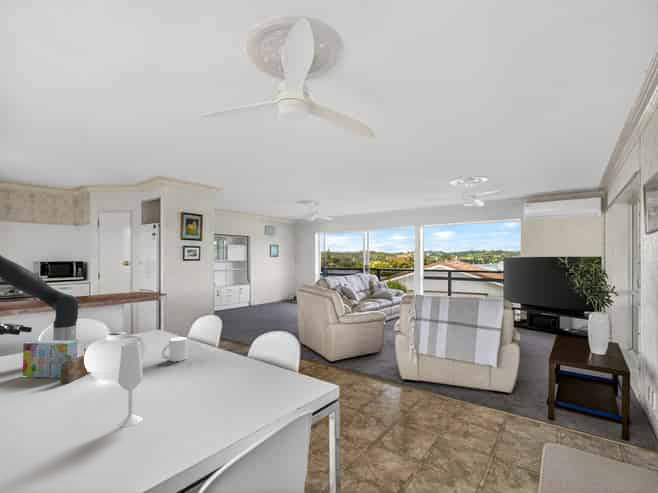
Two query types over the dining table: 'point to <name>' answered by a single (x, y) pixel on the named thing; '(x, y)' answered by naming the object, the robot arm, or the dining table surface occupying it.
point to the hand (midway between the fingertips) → (25, 331)
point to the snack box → (46, 357)
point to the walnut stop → (73, 369)
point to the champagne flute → (130, 378)
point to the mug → (176, 349)
